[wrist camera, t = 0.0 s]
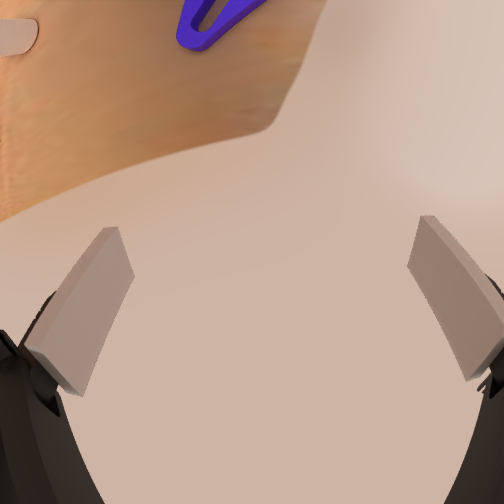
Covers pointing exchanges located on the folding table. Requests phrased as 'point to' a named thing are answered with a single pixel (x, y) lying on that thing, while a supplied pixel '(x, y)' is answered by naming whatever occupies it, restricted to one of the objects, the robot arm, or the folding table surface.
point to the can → (17, 36)
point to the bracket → (195, 11)
